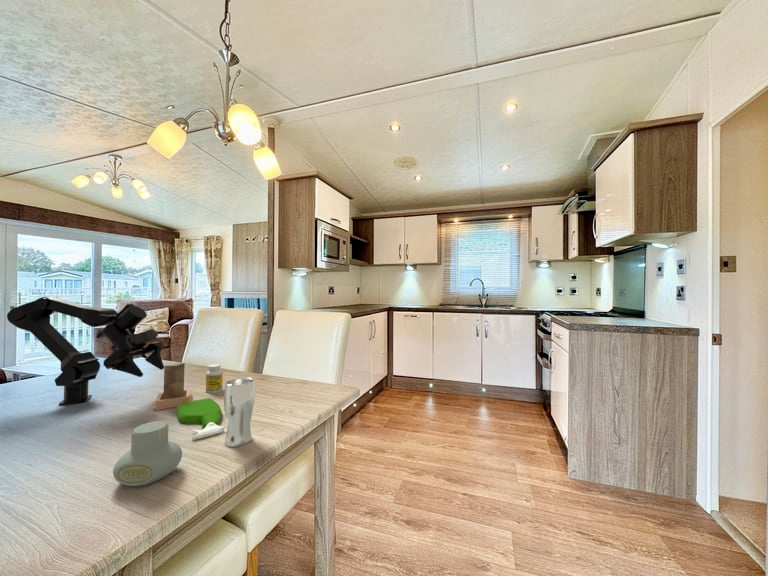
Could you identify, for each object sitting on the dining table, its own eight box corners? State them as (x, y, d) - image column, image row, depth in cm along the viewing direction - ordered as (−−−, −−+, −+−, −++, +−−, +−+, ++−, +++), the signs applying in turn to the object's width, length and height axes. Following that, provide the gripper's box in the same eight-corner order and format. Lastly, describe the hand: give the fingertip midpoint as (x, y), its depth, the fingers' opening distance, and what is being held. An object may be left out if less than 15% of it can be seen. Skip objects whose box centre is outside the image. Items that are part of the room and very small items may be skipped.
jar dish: (156, 400, 102) (157, 392, 102) (191, 395, 107) (192, 388, 107) (152, 410, 93) (153, 402, 93) (190, 404, 98) (191, 397, 98)
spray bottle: (214, 405, 99) (233, 433, 81) (174, 413, 92) (185, 446, 74) (214, 396, 99) (234, 422, 81) (175, 403, 92) (186, 434, 74)
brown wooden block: (163, 402, 98) (164, 365, 98) (171, 397, 102) (172, 362, 102) (175, 402, 98) (176, 365, 98) (183, 398, 102) (184, 362, 102)
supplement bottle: (221, 387, 116) (222, 363, 116) (222, 391, 111) (223, 366, 112) (205, 390, 113) (206, 364, 113) (206, 394, 108) (206, 367, 109)
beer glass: (230, 434, 78) (231, 377, 78) (257, 434, 79) (258, 377, 79) (217, 448, 71) (219, 385, 72) (247, 447, 72) (249, 385, 72)
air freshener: (188, 463, 65) (190, 417, 65) (165, 488, 57) (167, 435, 57) (134, 466, 64) (135, 419, 64) (102, 491, 55) (104, 437, 56)
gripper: (114, 325, 91) (149, 362, 91) (160, 319, 110) (188, 350, 110) (87, 350, 91) (122, 387, 91) (137, 340, 110) (166, 371, 109)
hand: (153, 372), depth 100 cm, fingers open, 9 cm apart
